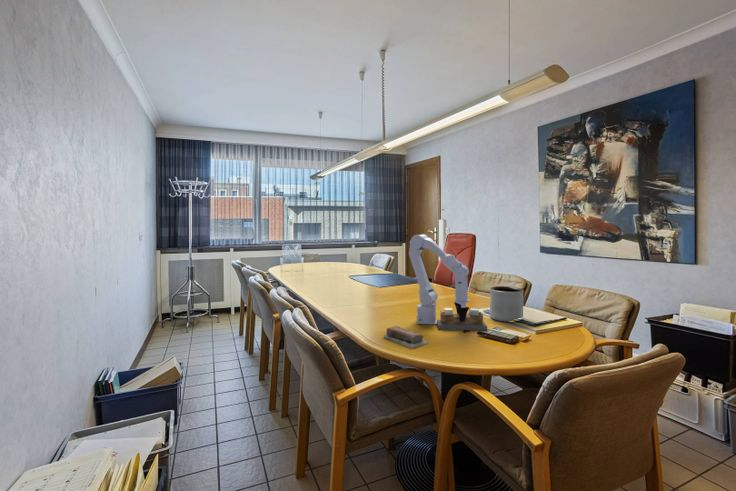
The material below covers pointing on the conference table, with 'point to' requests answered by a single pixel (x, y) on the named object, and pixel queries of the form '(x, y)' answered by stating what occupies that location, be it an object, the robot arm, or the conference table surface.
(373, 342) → the conference table surface
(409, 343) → the packaged product
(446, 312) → the crate cream
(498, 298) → the planter
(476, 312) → the crate greyblue
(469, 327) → the dock
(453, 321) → the brown grey lumpy bar
